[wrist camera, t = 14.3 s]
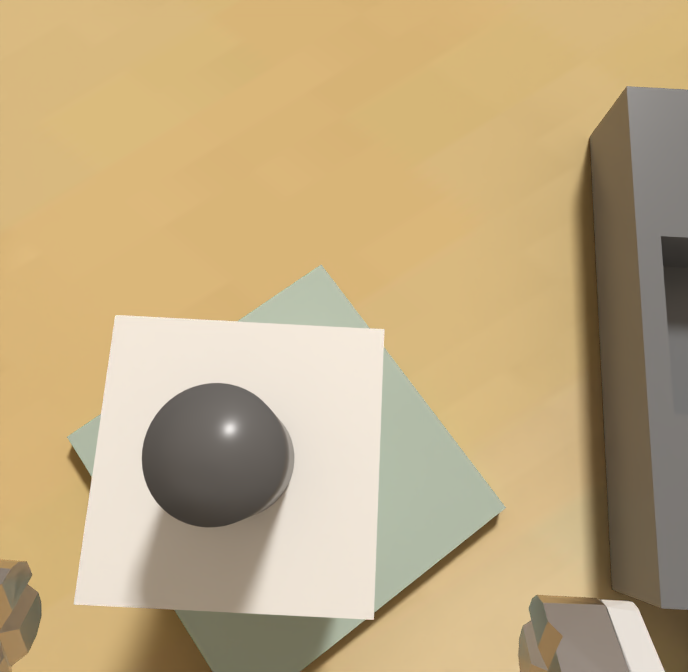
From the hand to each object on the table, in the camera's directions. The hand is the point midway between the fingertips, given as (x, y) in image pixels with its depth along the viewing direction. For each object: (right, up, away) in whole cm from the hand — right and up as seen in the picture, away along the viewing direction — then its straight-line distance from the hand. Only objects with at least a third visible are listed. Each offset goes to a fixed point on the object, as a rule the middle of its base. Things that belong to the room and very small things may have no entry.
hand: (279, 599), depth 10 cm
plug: (-1, 0, +9) cm, 9 cm away
